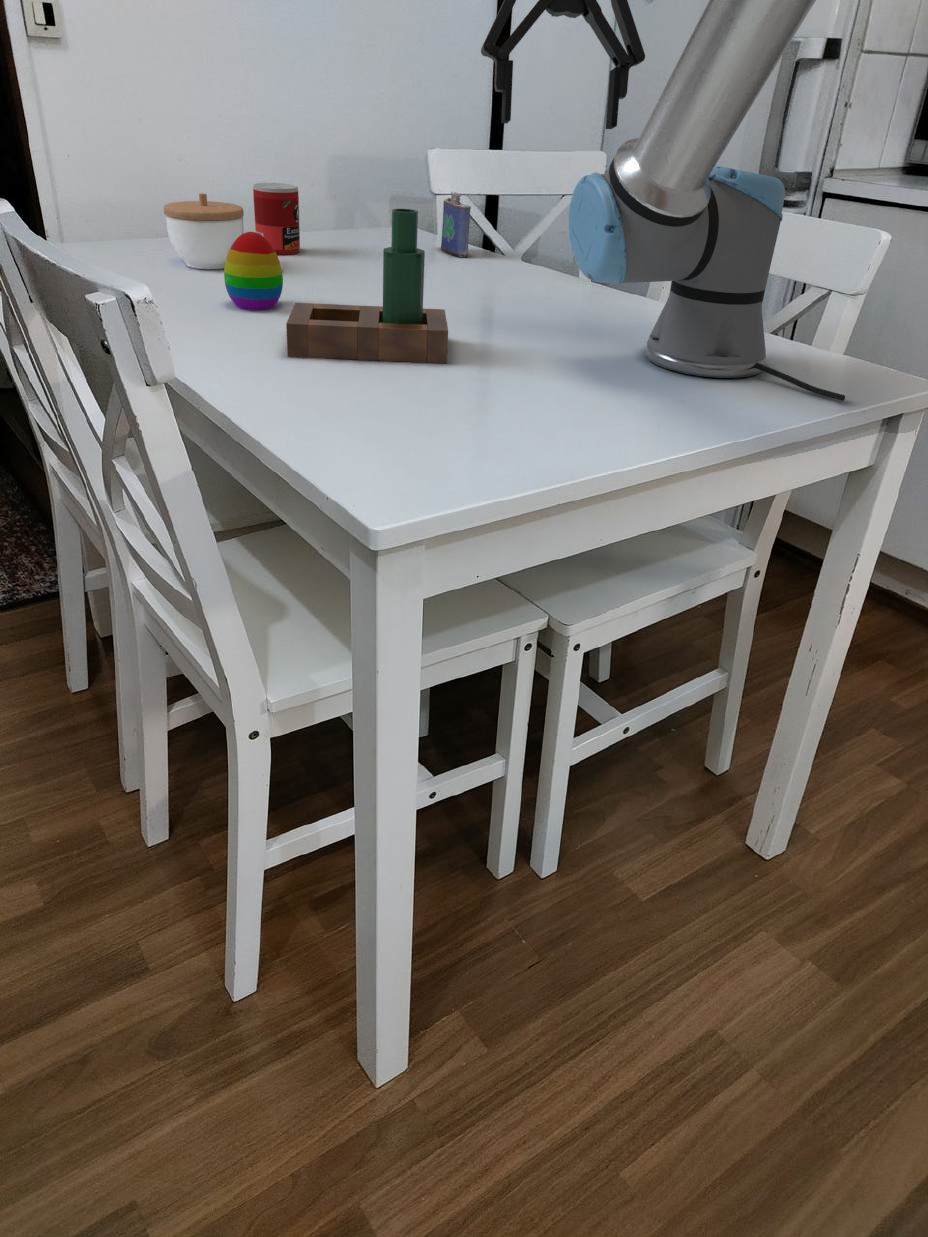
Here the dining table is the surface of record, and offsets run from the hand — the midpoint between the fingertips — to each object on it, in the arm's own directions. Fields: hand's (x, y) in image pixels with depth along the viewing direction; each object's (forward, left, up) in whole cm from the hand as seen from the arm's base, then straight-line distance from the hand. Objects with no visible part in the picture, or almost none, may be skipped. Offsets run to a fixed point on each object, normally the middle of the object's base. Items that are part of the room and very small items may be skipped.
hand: (558, 124), depth 118 cm
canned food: (+65, -6, -26) cm, 70 cm away
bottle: (+5, +22, -26) cm, 34 cm away
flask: (+47, -34, -26) cm, 64 cm away
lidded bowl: (+61, +12, -26) cm, 68 cm away
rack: (+8, +25, -26) cm, 37 cm away
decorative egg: (+34, +23, -26) cm, 49 cm away
